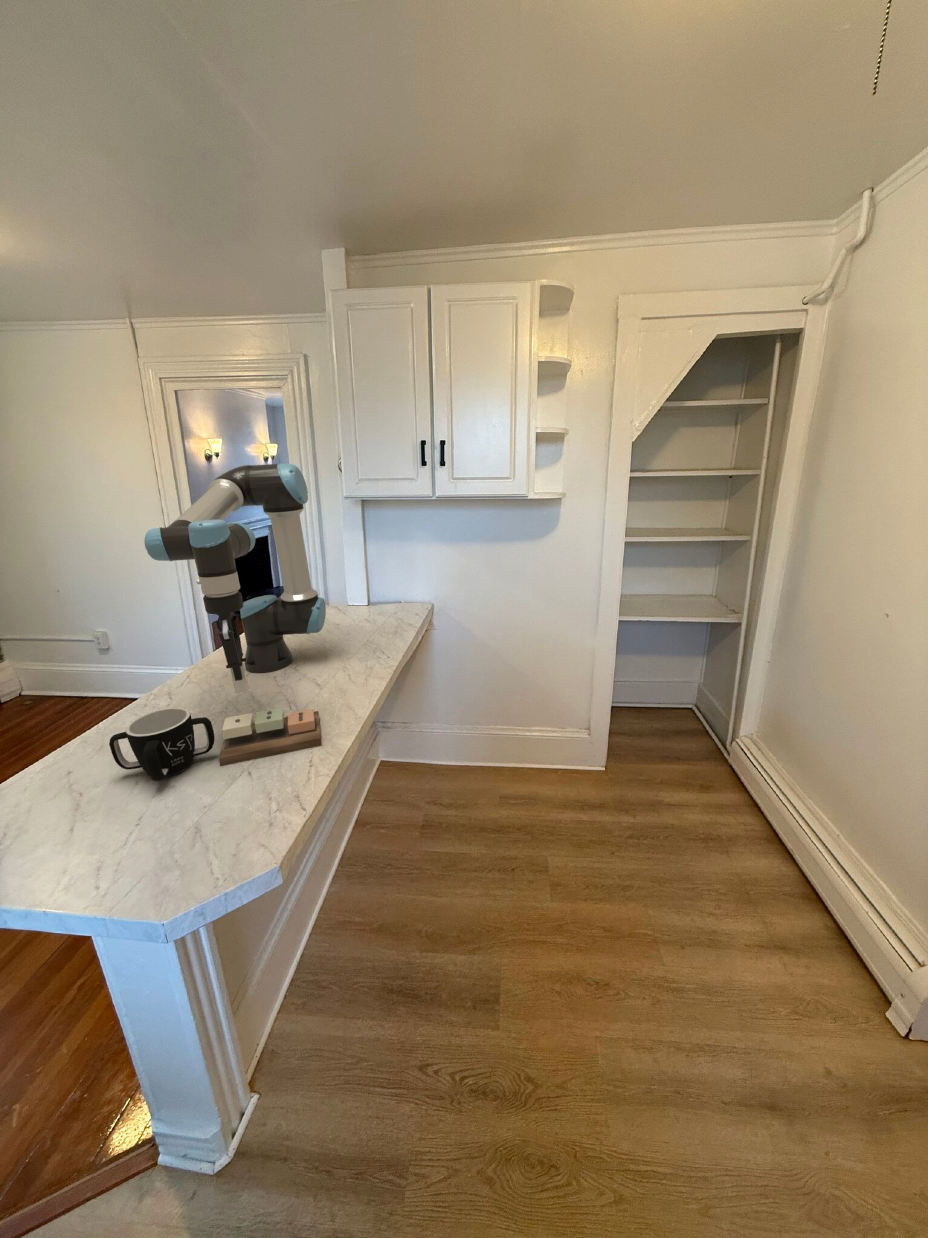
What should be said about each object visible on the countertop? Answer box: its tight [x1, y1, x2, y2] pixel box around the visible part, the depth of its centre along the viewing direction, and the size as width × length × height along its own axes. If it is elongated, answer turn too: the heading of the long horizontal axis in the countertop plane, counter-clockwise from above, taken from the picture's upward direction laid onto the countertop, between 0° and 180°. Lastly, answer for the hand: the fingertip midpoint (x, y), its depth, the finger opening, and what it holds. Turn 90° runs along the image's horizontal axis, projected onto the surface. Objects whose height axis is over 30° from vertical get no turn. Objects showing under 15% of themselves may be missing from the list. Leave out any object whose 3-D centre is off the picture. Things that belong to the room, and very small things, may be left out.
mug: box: [109, 707, 215, 782], centre depth 105 cm, size 16×16×12 cm
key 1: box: [221, 712, 255, 740], centre depth 112 cm, size 6×6×3 cm
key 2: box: [254, 707, 285, 733], centre depth 114 cm, size 6×6×3 cm
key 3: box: [287, 708, 315, 734], centre depth 117 cm, size 6×6×3 cm
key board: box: [218, 710, 322, 767], centre depth 116 cm, size 14×22×2 cm, turn 108°
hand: (242, 690), depth 110 cm, fingers closed
